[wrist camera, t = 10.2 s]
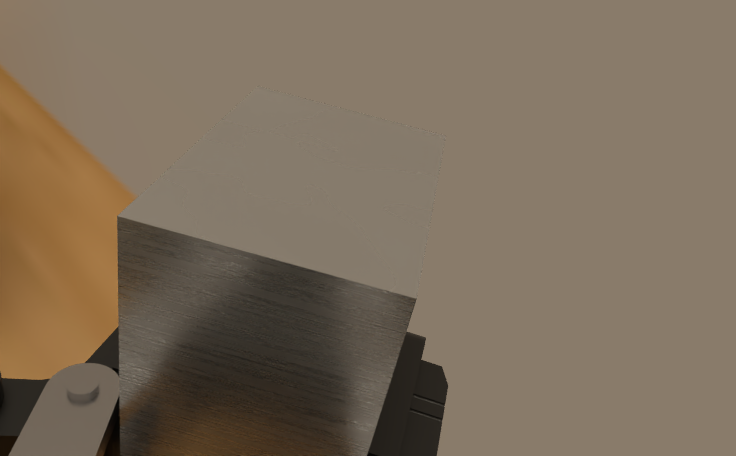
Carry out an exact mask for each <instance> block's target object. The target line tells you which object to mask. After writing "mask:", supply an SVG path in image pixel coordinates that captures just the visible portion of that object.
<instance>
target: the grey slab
mask: <svg viewBox="0 0 736 456" xmlns="http://www.w3.org/2000/svg"><path fill="white" fill-rule="evenodd" d="M445 137H446V136H445V135H441V134H438V133H434V132H430V131H426V130H423V129H419V128H415V127H411V126H408V125H404V124H400V123H396V122H392V121H388V120H385V119H381V118H377V117H373V116H369V115H366V114H362V113H358V112H354V111H350V110H347V109H343V108H339V107H336V106H332V105H328V104H324V103H320V102H317V101H313V100H309V99H305V98H301V97H297V96H294V95H290V94H286V93H283V92H279V91H275V90H271V89H267V88H264V87H259V86H257V87H256V88H255V89H254V90H253V91H252V92H251V93H250V94H249V95H248V96H247V97H245V98H244V99H243V100H242V101H241V102H240V103H239V104H238V105H237V106H236V107H235V108H234V109H232V110H231V111H230V112H229V113H228V114H227V115H226V116H225V117H224V118H223V119H222V120H221V121H219V122H218V123H217V124H216V125H215V126H214V127H213V128H212V129H211V130H210V131H209V132H208V133H206V134H205V135H204V136H203V137H202V138H201V139H200V140H199V141H198V142H197V143H196V144H195V145H194V146H192V147H191V148H190V149H189V150H188V151H187V152H186V153H185V154H184V155H183V156H182V157H181V158H179V159H178V161H176V162H175V163H174V164H173V165H172V166H171V167H170V168H169V169H168V170H167V171H165V172H164V173H163V174H162V175H161V176H160V177H159V178H158V179H157V180H156V181H155V182H154V183H153V184H151V185H150V187H148V188H147V189H146V190H145V191H144V192H143V193H142V194H141V195H140V196H138V197H137V198H136V199H135V200H134V201H133V202H132V203H131V204H130V205H129V206H128V207H127V208H125V209H124V210H123V211H122V212H121V213H120V214H119V215H118V216H117V229H118V313H119V397H120V456H367V454H368V451H369V448H370V445H371V441H372V438H373V435H374V432H375V429H376V426H377V422H378V419H379V416H380V413H381V410H382V407H383V403H384V400H385V397H386V394H387V391H388V388H389V385H390V381H391V378H392V375H393V372H394V369H395V366H396V362H397V359H398V356H399V353H400V350H401V347H402V343H403V340H404V337H405V334H406V331H407V328H408V325H409V321H410V318H411V315H412V312H413V309H414V306H415V302H416V299H417V294H418V288H419V282H420V277H421V272H422V266H423V260H424V255H425V249H426V243H427V237H428V232H429V226H430V221H431V216H432V210H433V204H434V199H435V193H436V187H437V182H438V176H439V171H440V165H441V159H442V154H443V148H444V142H445Z"/></svg>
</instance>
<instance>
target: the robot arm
mask: <svg viewBox="0 0 736 456" xmlns="http://www.w3.org/2000/svg"><path fill="white" fill-rule="evenodd" d="M425 340H426V338H425V337H422V336H419V335H416V334H413V333H410V332H406V334H405V337H404V340H403V343H402V347H401V350H400V353H399V356H398V359H397V362H396V366H395V369H394V372H393V375H392V378H391V381H390V385H389V388H388V391H387V394H386V397H385V400H384V403H383V407H382V410H381V413H380V416H379V419H378V422H377V426H376V429H375V432H374V435H373V438H372V441H371V445H370V448H369V451H368V454H367V456H437V450H438V444H439V438H440V432H441V426H442V419H443V413H444V406H445V401H446V395H447V389H448V384H447V381H446V378H445V375H444V372H443V369H442V367H441V366H438V365H436V364H432V363H429V362H426V361H423V360H421V358H422V354H423V349H424V345H425ZM0 456H120V397H119V326H118V327H117V328H116V330H115V331H114V332H113V333H112V334H111V335H110V336H109V337H108V338H107V339H106V341H105V342H104V343H103V344H102V345H101V346H100V347H99V348H98V349H97V350H96V351H95V353H94V354H93V355H92V356H91V357H90V358H89V359H88V360H87V361H86V362H85V363H82V364H76V365H73V366H69V367H67V368H65V369H63V370H61V371H59V372H58V373H56V374H55V375H54V376H53V377H52V378H51V379H45V380H27V379H7V378H1V373H0Z"/></svg>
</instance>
